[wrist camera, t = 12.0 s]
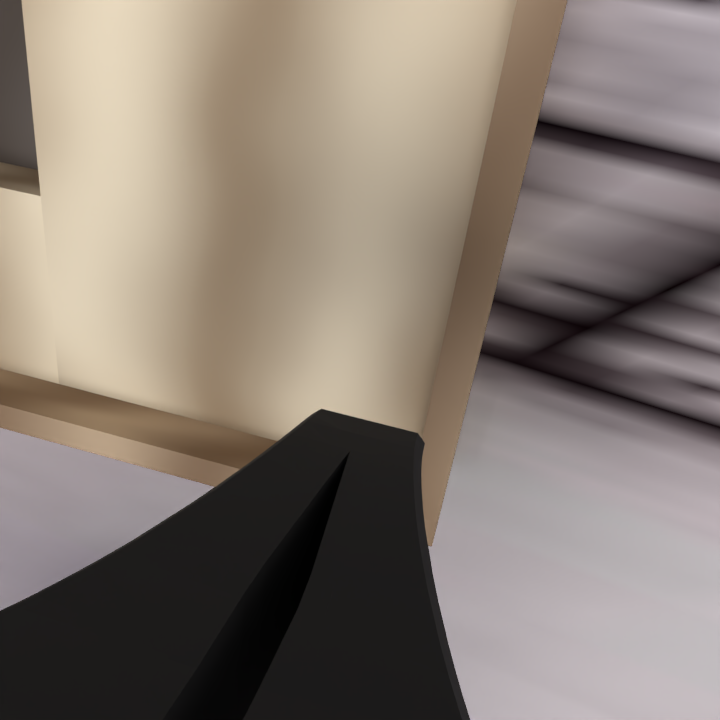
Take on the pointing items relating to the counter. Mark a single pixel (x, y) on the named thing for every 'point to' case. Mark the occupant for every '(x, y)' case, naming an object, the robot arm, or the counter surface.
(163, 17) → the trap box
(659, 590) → the counter surface
